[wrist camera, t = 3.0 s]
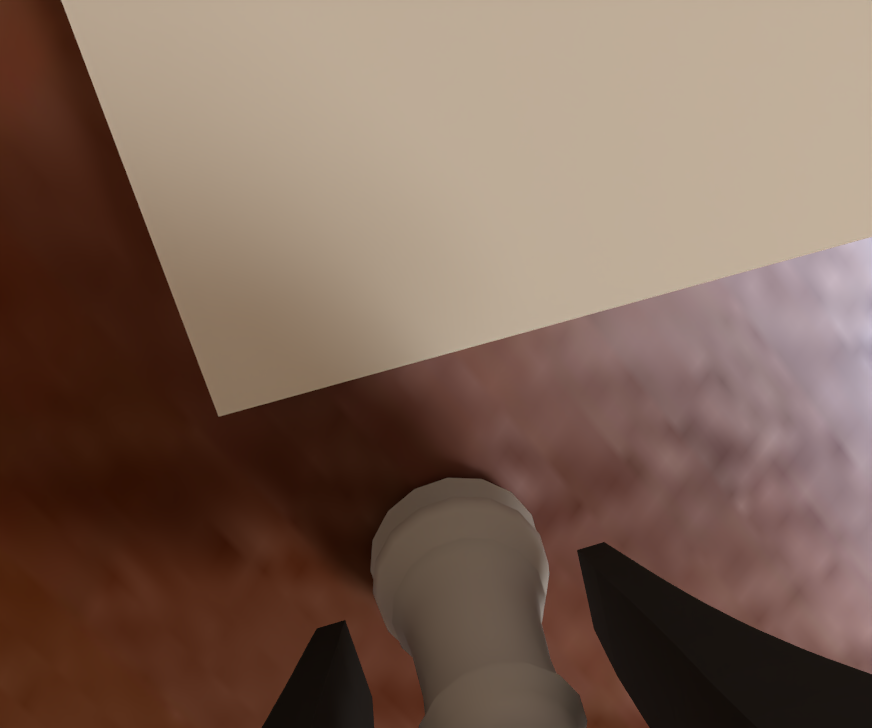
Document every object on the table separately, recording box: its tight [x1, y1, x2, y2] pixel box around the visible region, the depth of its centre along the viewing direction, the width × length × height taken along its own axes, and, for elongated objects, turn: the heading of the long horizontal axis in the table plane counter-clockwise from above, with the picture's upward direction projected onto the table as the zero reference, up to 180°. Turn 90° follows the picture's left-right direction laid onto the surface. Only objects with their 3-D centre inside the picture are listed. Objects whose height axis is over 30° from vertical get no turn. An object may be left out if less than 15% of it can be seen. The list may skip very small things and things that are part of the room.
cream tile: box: [61, 0, 872, 417], centre depth 10 cm, size 16×11×2 cm
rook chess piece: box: [370, 478, 587, 728], centre depth 10 cm, size 4×4×8 cm
